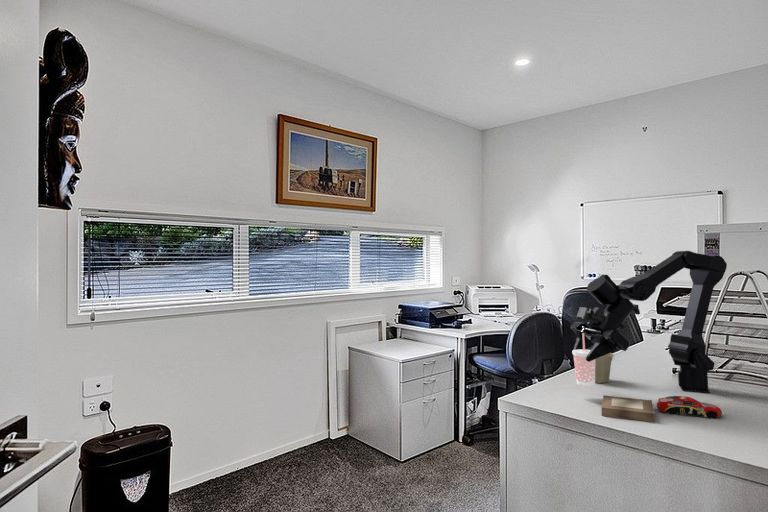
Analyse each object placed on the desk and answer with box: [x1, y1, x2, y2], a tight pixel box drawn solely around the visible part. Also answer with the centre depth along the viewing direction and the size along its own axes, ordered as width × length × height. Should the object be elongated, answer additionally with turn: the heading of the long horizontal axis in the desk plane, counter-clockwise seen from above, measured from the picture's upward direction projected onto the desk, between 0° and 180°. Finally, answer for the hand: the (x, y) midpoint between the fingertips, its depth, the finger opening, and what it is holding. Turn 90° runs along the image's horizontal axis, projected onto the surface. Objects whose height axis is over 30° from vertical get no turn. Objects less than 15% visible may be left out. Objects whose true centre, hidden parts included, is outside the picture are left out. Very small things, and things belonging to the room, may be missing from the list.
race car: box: [656, 395, 723, 420], centre depth 109 cm, size 13×5×4 cm, turn 63°
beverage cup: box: [571, 333, 596, 387], centre depth 123 cm, size 6×6×14 cm
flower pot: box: [595, 352, 615, 384], centre depth 140 cm, size 9×9×9 cm
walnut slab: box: [601, 395, 655, 423], centre depth 111 cm, size 11×11×2 cm
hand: (579, 358), depth 123 cm, fingers closed on beverage cup, 6 cm apart
